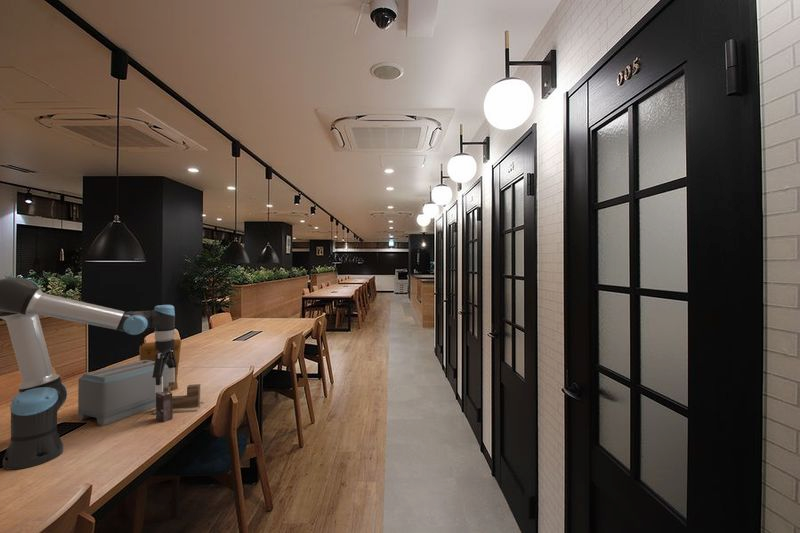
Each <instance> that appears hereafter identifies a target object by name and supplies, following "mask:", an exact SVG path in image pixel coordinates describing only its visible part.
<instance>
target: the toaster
mask: <svg viewBox="0 0 800 533" xmlns="http://www.w3.org/2000/svg"><path fill="white" fill-rule="evenodd" d="M154 365H155V361H149V360H142V361H140V360H137V361H134V362H133V361H132V362H128V363H124V364H120V365H116V366H112V367H108V368H101V369H98V370H95V371H90V372H85V373H83V375H81V376H80V377H79V378H78V379H77V380H78V381H77V382H78V390H77V391H78V392H77V395H78V400H77V405H78V406H77V407H78V408H77V412H78V413H77V415H78V416H77V418H78V420H79V421H84V420H88V419H89V418H95V419H96V422H97V424H98V425H99V426H102V427H103V426H107V425H109V424H113V423H115V422H117V421H120V420H121V421H122V420H123V419H126V418H129V417H132V416H134V415H138V414H141V413H143V412H146V411H149V410H152V409H154V408H155V409H156V393H155V378H152V376H153V371H154ZM167 368H168V366H167V365H166V364H165V366H164V370H163V374H162V376H163V387H164V386H169V382H168V383H167Z"/></svg>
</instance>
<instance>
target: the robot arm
mask: <svg viewBox="0 0 800 533" xmlns="http://www.w3.org/2000/svg"><path fill="white" fill-rule="evenodd" d="M175 312H176V311H175V306H174V305H172V304H162V305H161V304H160V305H156V306H154V309H152V310H140V311H139V310H137V311H132V310H131V311H123V310H120V309H115V308H112V307H106V306H102V305H97V304H94V303H88V302H85V301H81V300H80V301H79V300H75V299H70V298H67V297H62V296H59V295H58V296H57V295H52V294H49V293H45V292H43V291H42V289H41V288H40V285H39V284H37V282H35V281H33V280H32V279H31V280H30V279H28V278H25V277H10V278H3V279H0V319H1V320H4V321H5V324H6V326H7V329H8V333H9V337H10V340H11V344H12V347H13V351H14V356H15V359H16V363H17V365H18V370H19V373H20V377H21V381H22V382H21V383H20V385H19V386H18V388H17V389H18V392H19V393H17V394H16V395H15V396H13V397H12V399H11V404H10V406H9V410H10V443H9V444H8V447H7V449H6V451H5V454H4V457H3V459H2V467H3V469H6V470H18V469H19V470H20V469H25V468H30V467H31V468H32V467H35V466H38V465H41V464H44V463H47V462H49V461H51V460H54V459H55V458H57V457H59V456H60V455H62V454H63V452H64V443H63V441H62V439H61V437H60V435H59V433H58V412H59V410H60V409H61V407H62V406H63V405H64V404H65V402H66V400H67V398H68V397H67V396H68V390H67V387H66V386H65V384H64V383H63V382H62V378H61V375H60V374H57V373H54V370H53V367H52V363H51V358H50V355H49V351H48V347H47V343H46V339H45V336H44V331H43V328H42V324H41V320H40V316H46V317H49V318H50V317H51V318H55V319H60V320H64V321H65V320H67V321H71V322H75V323H81V324H85V325H91V326H95V327H101V328H104V329H105V328H106V329H111V330H115V331H118V332H125V333H126V334H128V335H132V336H135V335H139V334H141V333H144V331H146V329H149V328H154V340H155V341H154V342H155V349H156V350H159V354H156V360H155V365H154V371H153V376H152V378H155V393H156V392H163V376H162V374H163V370H164V366H165V363H167V366H168V368H167V383H168V382H174V367H177V365H176V360H175V355H174V347H175V340H176V339H175V335H176V334H177V332H176V330H175V328H176V327H175V326H176V325H175V324H176V322H175V321H176V313H175ZM39 315H40V316H39Z"/></svg>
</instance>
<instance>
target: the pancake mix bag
mask: <svg viewBox="0 0 800 533" xmlns="http://www.w3.org/2000/svg"><path fill="white" fill-rule="evenodd" d="M174 340H175V347H174V355H175V360H176V365H177V367H174V382H169V386H171V392H172V391H175V390H177V389H179V385H178V374H179V365H180V364H179V363H180V356H181V347H182V340H181V339H178V338H177V339H174ZM138 348H139V350H138V352H139V361H142V360H149V361H155V360H156V354H159V350H156V349H155V341H153V342H144V343H142V345H139V347H138ZM165 364H166V365H167V363H165Z"/></svg>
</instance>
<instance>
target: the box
mask: <svg viewBox="0 0 800 533" xmlns="http://www.w3.org/2000/svg"><path fill="white" fill-rule="evenodd" d="M172 396H173V392H172V391H171V392H169V391H163V392H159V393H156V407H155V410H156V415H155V420H157V421H160V422H161V423H162V422H163V423H166V422H168V421H171V420H173V416H174V413H173V407H172Z"/></svg>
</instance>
